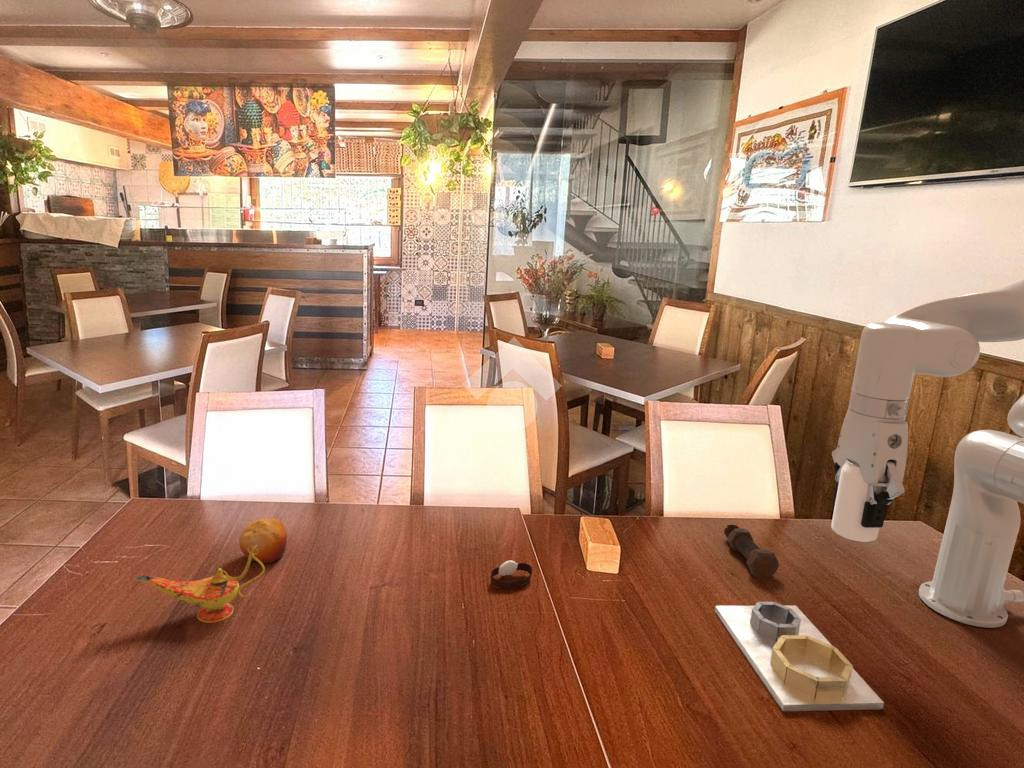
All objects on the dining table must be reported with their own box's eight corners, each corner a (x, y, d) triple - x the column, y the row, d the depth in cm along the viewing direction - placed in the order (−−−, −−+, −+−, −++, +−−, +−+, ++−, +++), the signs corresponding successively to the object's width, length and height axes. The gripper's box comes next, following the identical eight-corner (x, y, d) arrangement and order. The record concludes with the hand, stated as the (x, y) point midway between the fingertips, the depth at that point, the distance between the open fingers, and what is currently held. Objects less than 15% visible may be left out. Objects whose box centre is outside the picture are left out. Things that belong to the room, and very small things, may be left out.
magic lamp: (146, 605, 95) (139, 540, 93) (270, 596, 99) (267, 533, 97) (130, 633, 89) (122, 564, 86) (263, 621, 93) (260, 555, 90)
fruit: (306, 543, 113) (285, 517, 108) (275, 579, 109) (252, 553, 104) (277, 530, 117) (257, 504, 112) (246, 564, 113) (224, 539, 108)
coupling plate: (794, 610, 103) (798, 592, 102) (882, 709, 82) (887, 686, 81) (714, 611, 102) (717, 592, 101) (782, 711, 81) (786, 688, 80)
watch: (524, 571, 111) (526, 553, 110) (537, 585, 107) (538, 566, 106) (485, 579, 108) (486, 560, 107) (496, 593, 104) (497, 574, 103)
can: (876, 548, 93) (890, 473, 90) (828, 536, 96) (841, 463, 93) (877, 531, 98) (891, 461, 95) (832, 520, 102) (845, 452, 99)
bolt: (732, 547, 128) (766, 585, 114) (713, 535, 127) (745, 572, 113) (748, 524, 127) (785, 560, 113) (729, 513, 127) (763, 547, 112)
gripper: (945, 424, 84) (919, 543, 89) (864, 391, 101) (845, 493, 105) (893, 423, 84) (870, 543, 88) (820, 391, 100) (803, 493, 105)
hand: (856, 515), depth 97 cm, fingers closed on can, 6 cm apart
